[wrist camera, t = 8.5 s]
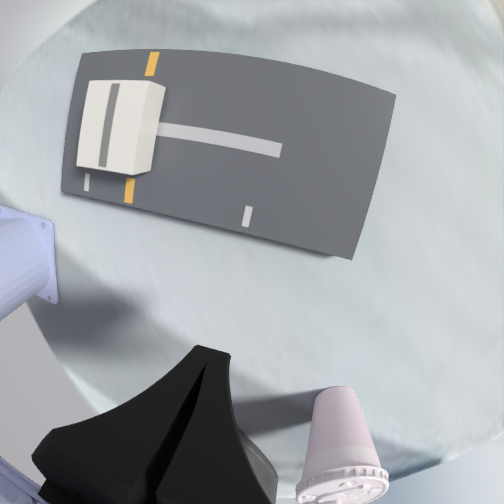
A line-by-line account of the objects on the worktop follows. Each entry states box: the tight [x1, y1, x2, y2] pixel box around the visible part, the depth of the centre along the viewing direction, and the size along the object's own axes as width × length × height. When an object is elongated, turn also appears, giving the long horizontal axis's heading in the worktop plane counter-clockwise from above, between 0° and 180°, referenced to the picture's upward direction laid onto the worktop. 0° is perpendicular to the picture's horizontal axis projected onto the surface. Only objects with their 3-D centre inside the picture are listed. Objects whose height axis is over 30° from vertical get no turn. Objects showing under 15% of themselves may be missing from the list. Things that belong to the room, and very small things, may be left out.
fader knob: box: [76, 80, 166, 175], centre depth 14 cm, size 4×5×2 cm
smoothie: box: [295, 386, 389, 504], centre depth 16 cm, size 6×6×14 cm
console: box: [61, 49, 396, 260], centre depth 16 cm, size 20×10×2 cm, turn 78°
